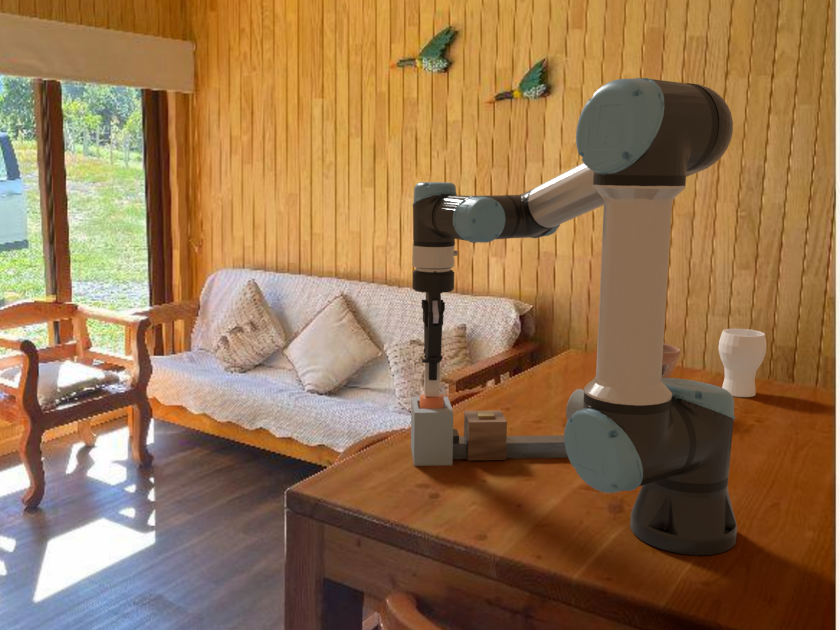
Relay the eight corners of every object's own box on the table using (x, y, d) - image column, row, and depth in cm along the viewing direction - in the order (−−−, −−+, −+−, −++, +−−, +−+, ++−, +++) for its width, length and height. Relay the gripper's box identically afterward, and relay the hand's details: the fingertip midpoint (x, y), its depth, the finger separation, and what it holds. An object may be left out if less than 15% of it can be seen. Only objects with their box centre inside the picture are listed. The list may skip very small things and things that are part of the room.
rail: (577, 457, 154) (578, 434, 153) (450, 459, 152) (451, 436, 151) (572, 450, 157) (573, 427, 157) (448, 451, 156) (448, 429, 155)
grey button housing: (452, 465, 149) (453, 412, 147) (413, 465, 148) (414, 412, 147) (446, 446, 159) (447, 396, 157) (410, 446, 158) (411, 397, 156)
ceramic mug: (598, 436, 166) (601, 399, 164) (564, 427, 171) (566, 391, 170) (624, 425, 173) (626, 390, 172) (590, 417, 179) (592, 383, 177)
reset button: (444, 431, 151) (444, 399, 149) (420, 431, 150) (420, 400, 149) (442, 423, 155) (442, 393, 154) (418, 424, 155) (419, 393, 153)
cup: (709, 386, 204) (714, 327, 201) (752, 387, 203) (757, 328, 200) (723, 398, 193) (728, 336, 190) (768, 399, 193) (774, 337, 190)
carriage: (505, 459, 151) (507, 418, 150) (468, 460, 151) (469, 419, 149) (499, 446, 158) (500, 407, 156) (463, 447, 157) (464, 407, 156)
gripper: (458, 273, 141) (455, 405, 145) (450, 264, 154) (448, 385, 158) (415, 273, 140) (413, 406, 145) (410, 264, 153) (409, 386, 158)
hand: (431, 395), depth 151 cm, fingers closed
